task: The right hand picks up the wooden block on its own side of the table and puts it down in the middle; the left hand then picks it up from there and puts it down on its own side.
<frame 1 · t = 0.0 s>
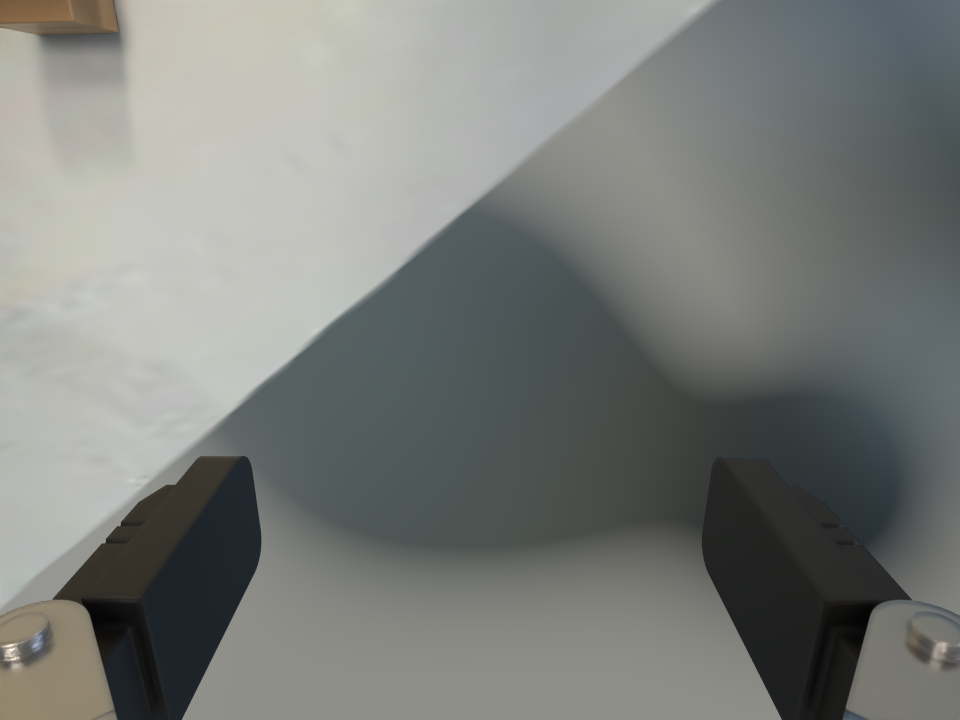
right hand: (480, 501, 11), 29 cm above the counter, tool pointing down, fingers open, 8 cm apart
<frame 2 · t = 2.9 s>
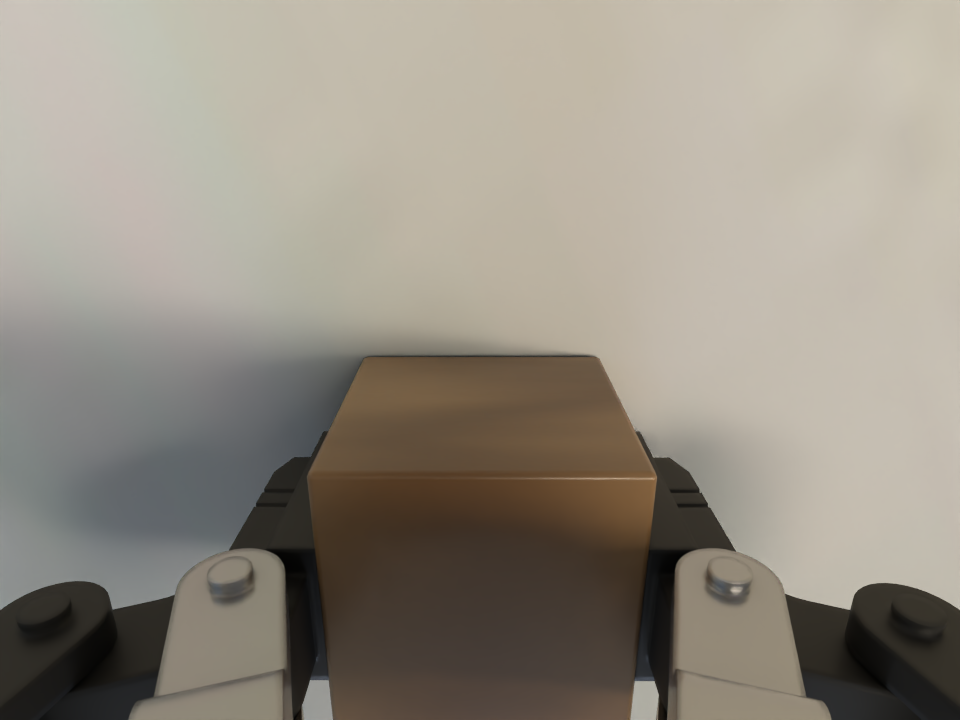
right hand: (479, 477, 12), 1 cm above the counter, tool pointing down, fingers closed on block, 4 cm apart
block: (481, 464, 12), on the counter, touching right hand
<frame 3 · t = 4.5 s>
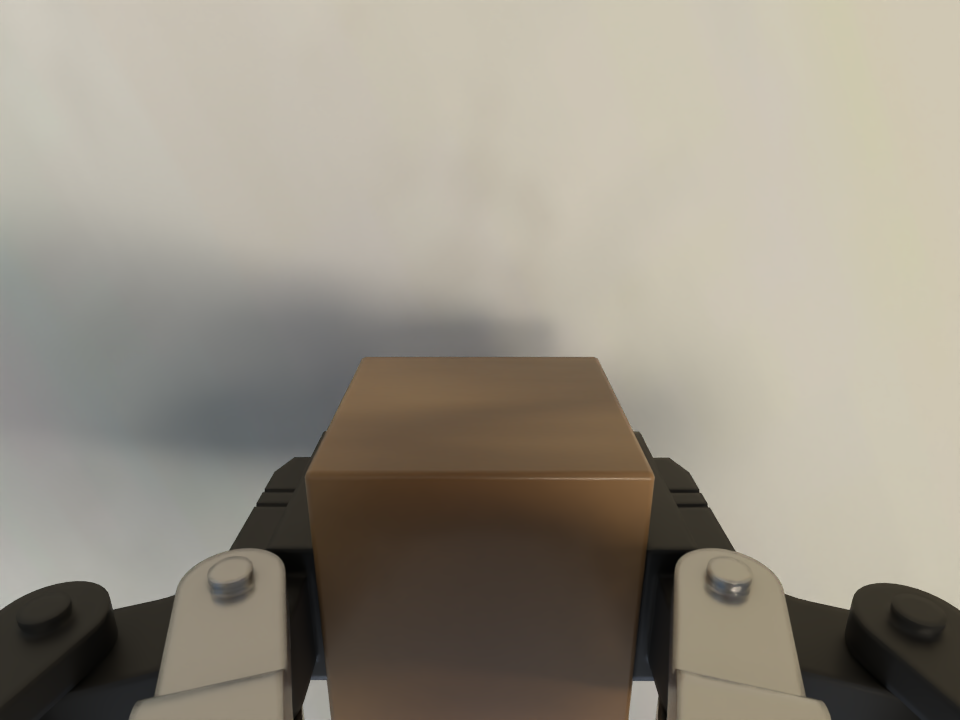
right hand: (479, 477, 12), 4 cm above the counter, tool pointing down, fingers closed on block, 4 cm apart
block: (479, 464, 12), point 3 cm above the counter, touching right hand
when the right hand's fingers open (1 cm above the counter, at t = 6.3 s): block stays where it is, on the counter.
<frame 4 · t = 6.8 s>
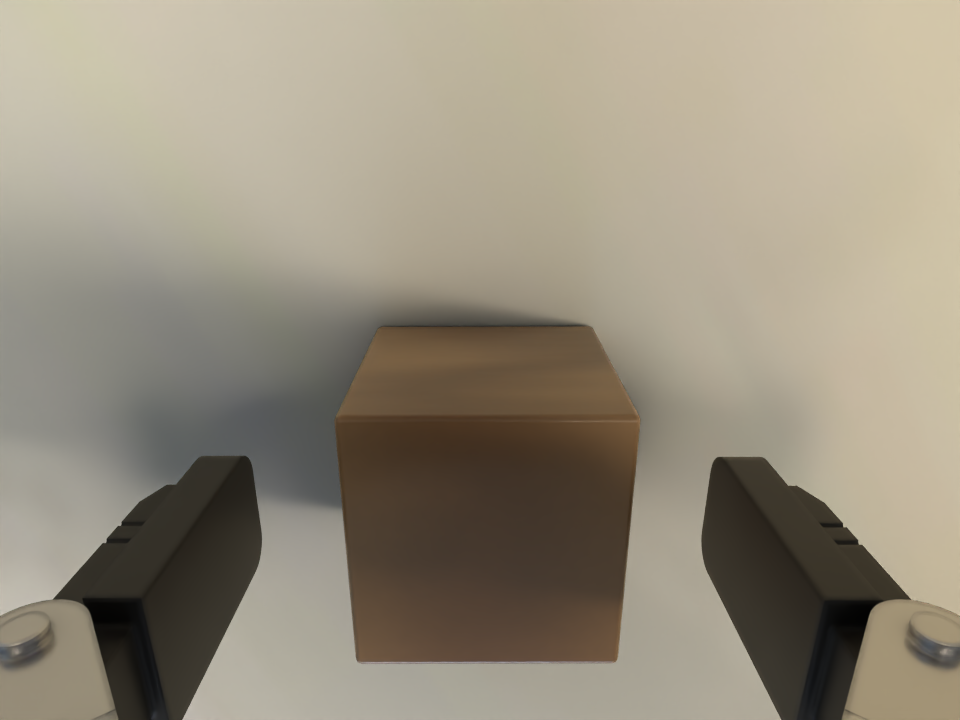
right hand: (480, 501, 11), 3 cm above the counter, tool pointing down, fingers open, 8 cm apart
block: (485, 426, 14), on the counter
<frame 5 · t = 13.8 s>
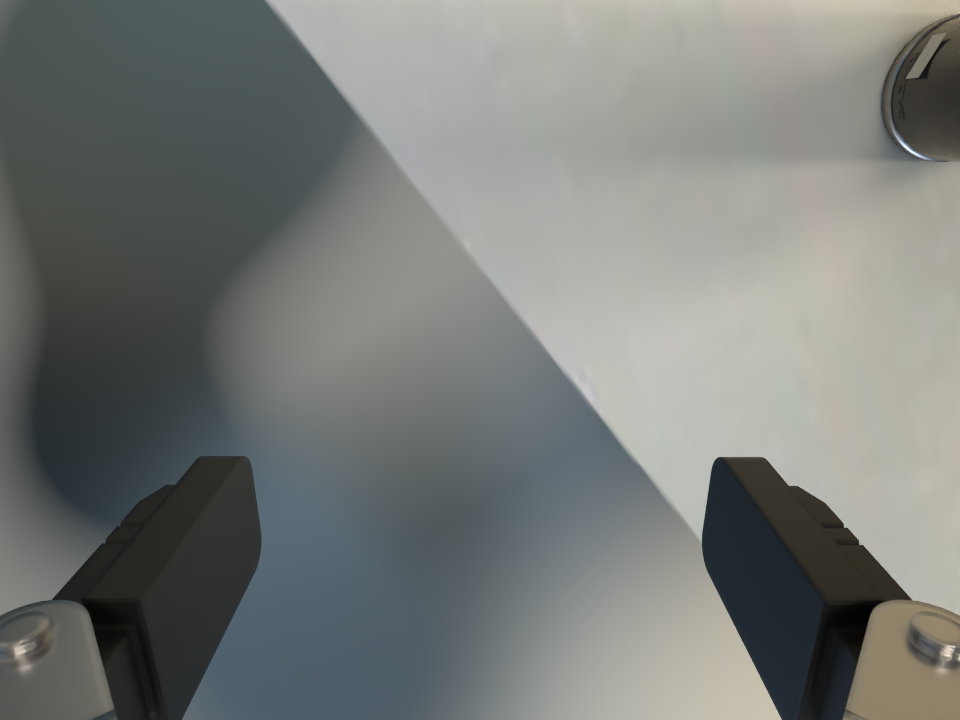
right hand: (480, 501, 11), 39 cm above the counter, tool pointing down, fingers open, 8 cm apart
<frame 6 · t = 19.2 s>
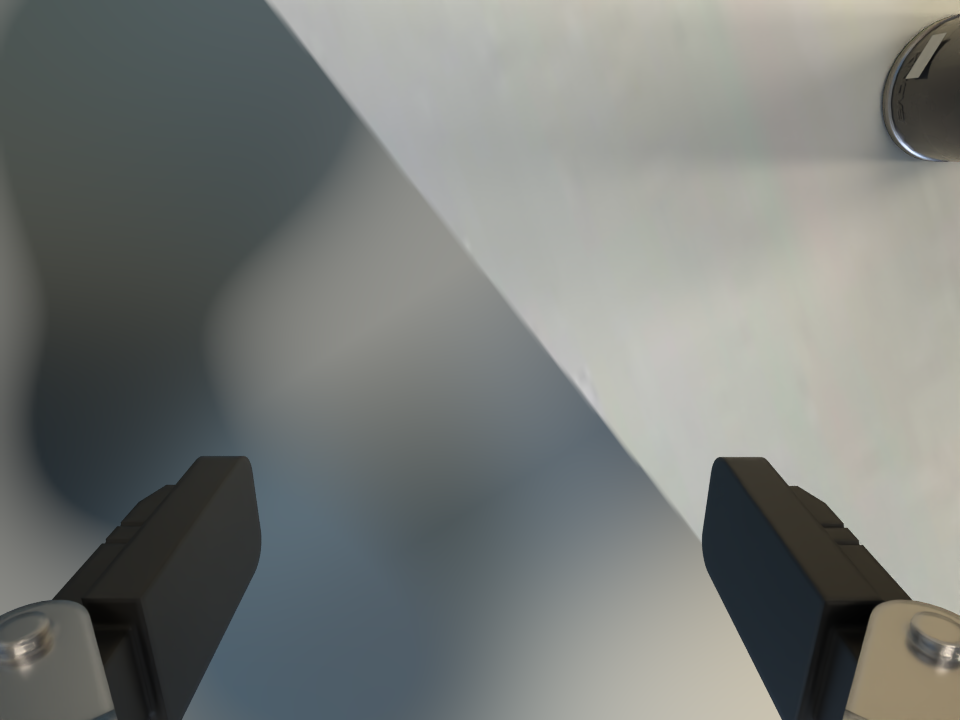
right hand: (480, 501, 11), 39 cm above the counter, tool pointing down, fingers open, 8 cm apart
when the left hand's fingers open (1 cm above the counter, at t = 24.6 s): block stays where it is, on the counter.
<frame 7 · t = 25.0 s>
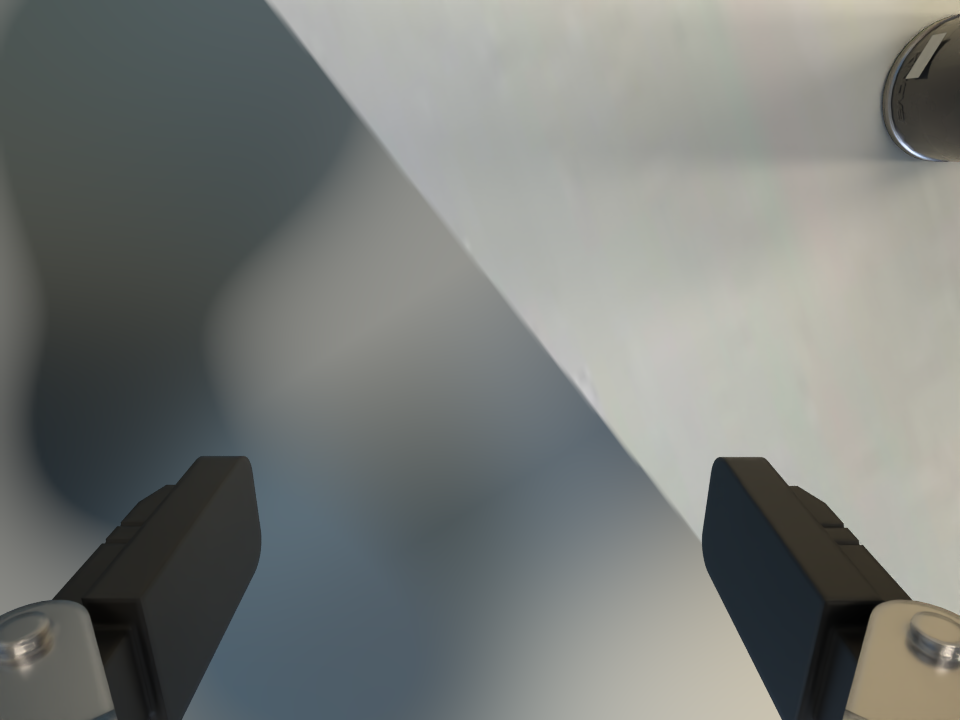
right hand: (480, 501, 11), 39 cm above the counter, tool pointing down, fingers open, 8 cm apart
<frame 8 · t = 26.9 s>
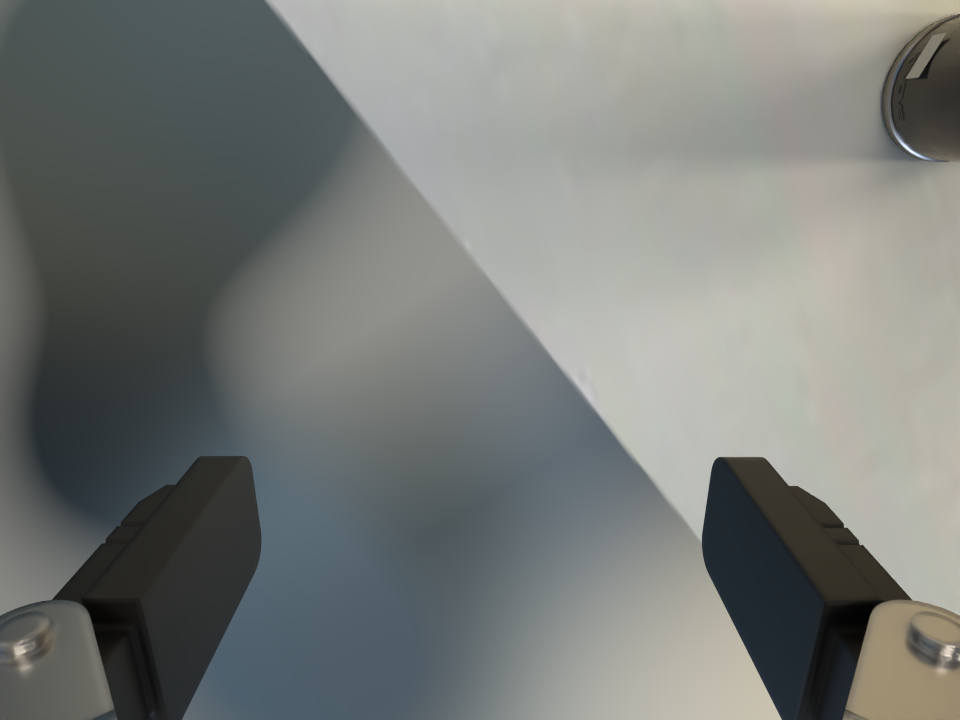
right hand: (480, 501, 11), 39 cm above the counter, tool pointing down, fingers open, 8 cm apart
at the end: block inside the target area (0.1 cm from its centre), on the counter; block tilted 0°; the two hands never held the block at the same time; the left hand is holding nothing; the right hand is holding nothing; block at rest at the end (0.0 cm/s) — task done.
